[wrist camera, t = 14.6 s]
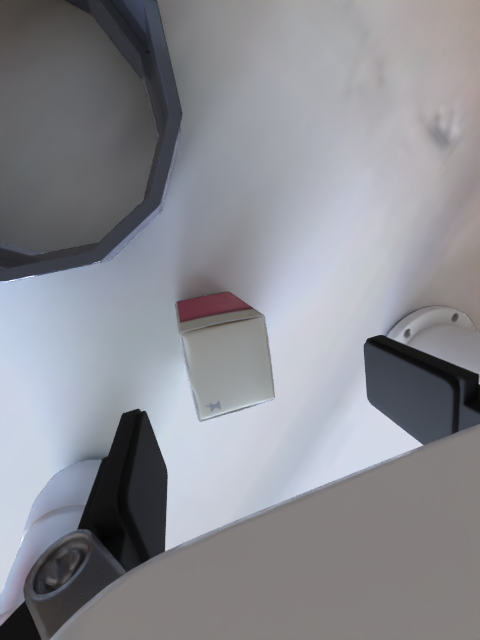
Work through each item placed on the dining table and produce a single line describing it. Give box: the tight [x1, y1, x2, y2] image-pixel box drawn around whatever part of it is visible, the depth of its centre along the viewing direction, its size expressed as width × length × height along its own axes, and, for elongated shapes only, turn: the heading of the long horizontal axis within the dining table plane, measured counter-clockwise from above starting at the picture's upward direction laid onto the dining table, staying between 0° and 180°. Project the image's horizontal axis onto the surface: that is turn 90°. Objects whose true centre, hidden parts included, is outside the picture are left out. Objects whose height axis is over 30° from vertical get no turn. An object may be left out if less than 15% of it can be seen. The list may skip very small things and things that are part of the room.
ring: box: [0, 0, 182, 282], centre depth 12 cm, size 15×15×5 cm
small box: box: [175, 292, 275, 422], centre depth 17 cm, size 5×4×8 cm
